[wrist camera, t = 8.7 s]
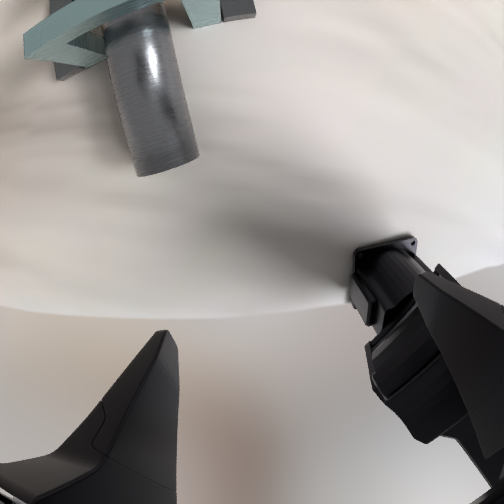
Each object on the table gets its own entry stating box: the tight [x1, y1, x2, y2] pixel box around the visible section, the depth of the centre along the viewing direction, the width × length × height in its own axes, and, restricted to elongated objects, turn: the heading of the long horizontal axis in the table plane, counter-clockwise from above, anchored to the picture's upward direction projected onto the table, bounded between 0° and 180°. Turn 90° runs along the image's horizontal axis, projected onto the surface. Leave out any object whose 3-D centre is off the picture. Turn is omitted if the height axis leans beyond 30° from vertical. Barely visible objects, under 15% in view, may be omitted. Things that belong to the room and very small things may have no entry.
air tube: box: [101, 1, 200, 177], centre depth 11 cm, size 18×4×4 cm, turn 11°
